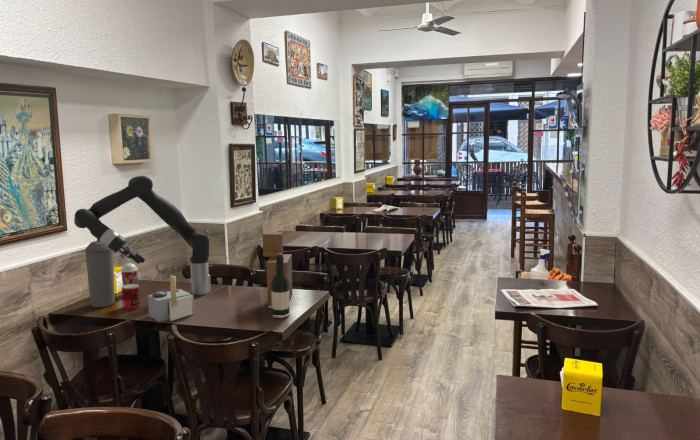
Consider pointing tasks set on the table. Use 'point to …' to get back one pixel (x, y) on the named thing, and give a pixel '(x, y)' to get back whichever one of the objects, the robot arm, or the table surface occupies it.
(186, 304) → the side door
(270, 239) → the stacked wooden blocks
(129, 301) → the canned food
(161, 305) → the camera body
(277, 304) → the wine bottle
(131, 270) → the smoothie
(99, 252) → the canister
